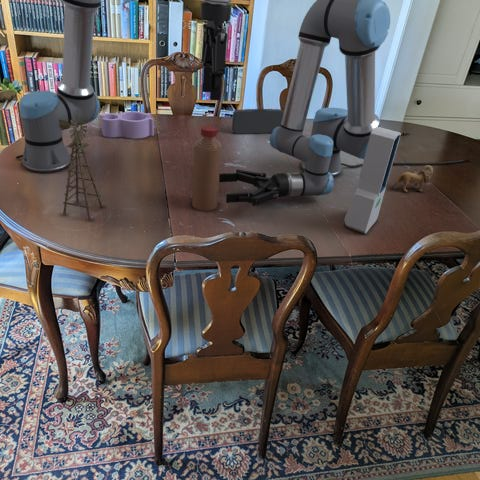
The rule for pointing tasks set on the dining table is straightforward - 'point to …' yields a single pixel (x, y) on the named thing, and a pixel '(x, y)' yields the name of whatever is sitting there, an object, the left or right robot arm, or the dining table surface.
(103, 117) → the clip
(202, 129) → the cap
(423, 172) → the lion figurine
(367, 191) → the electronic device
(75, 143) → the miniature windmill
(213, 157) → the bottle
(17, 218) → the dining table surface
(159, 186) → the dining table surface
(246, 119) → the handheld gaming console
